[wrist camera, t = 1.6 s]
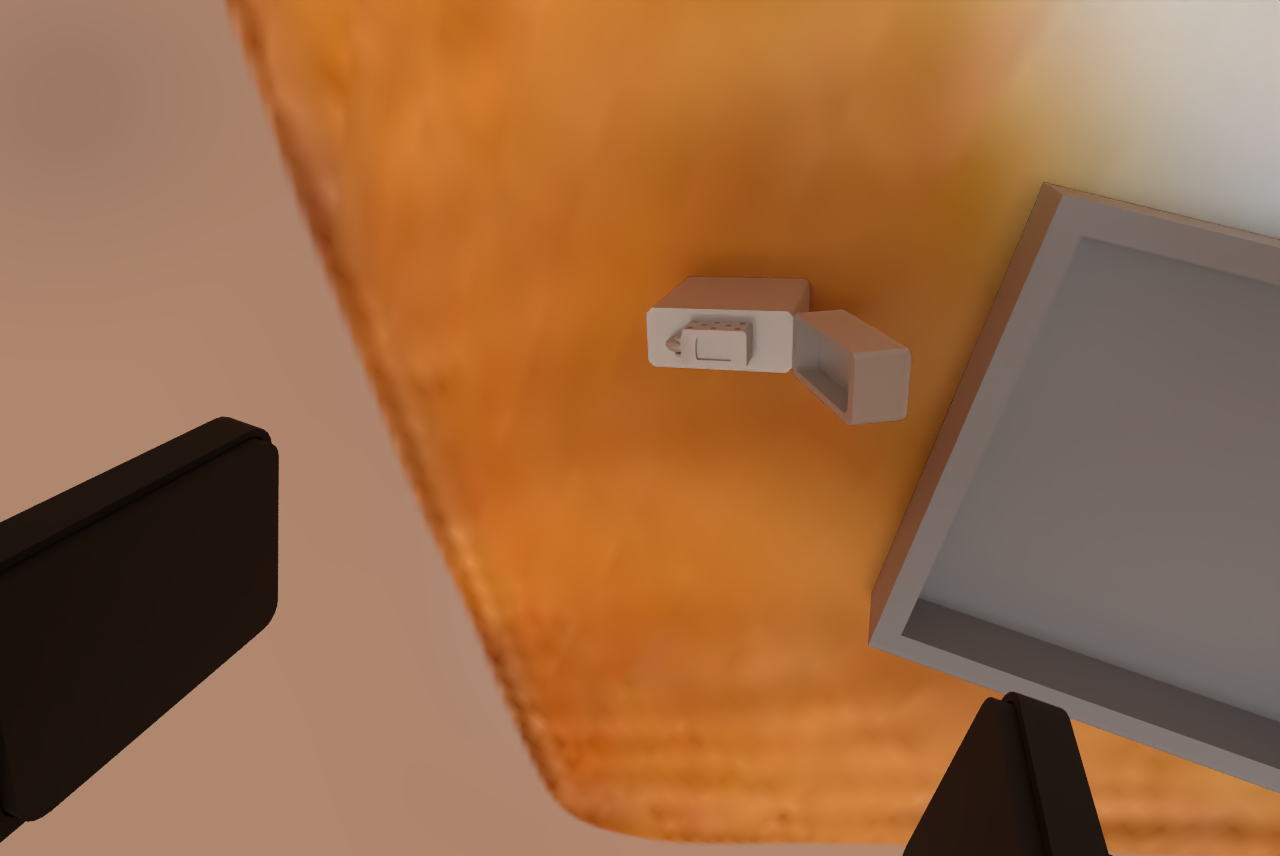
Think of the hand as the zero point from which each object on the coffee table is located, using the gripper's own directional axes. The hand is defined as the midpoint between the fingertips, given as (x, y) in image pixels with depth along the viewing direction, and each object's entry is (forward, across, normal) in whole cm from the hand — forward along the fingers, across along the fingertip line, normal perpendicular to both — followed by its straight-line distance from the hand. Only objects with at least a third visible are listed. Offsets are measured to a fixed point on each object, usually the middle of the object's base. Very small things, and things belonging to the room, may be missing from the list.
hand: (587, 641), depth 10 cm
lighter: (+18, -1, 0) cm, 18 cm away
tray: (+18, -14, +2) cm, 22 cm away
